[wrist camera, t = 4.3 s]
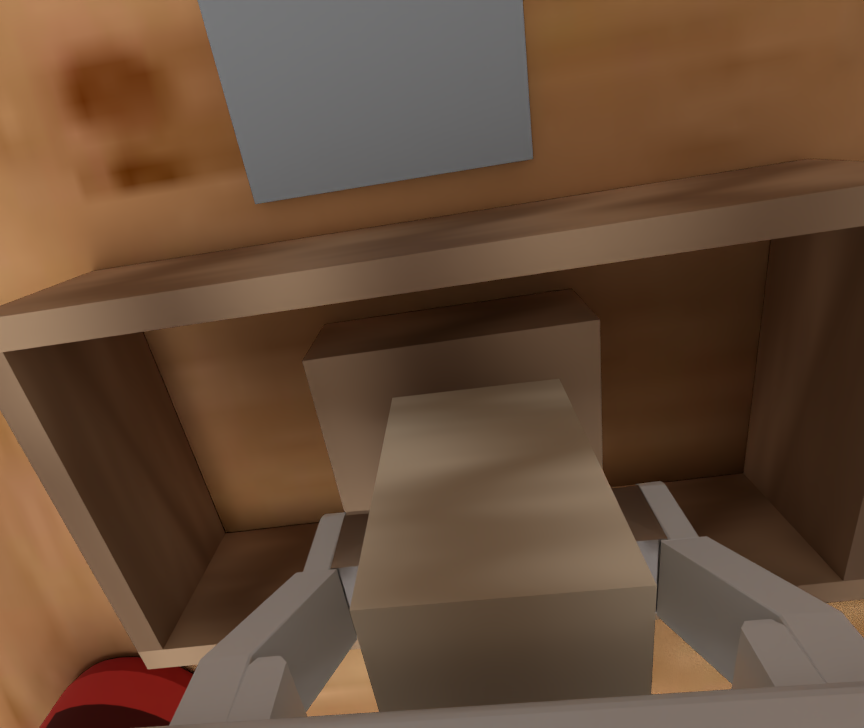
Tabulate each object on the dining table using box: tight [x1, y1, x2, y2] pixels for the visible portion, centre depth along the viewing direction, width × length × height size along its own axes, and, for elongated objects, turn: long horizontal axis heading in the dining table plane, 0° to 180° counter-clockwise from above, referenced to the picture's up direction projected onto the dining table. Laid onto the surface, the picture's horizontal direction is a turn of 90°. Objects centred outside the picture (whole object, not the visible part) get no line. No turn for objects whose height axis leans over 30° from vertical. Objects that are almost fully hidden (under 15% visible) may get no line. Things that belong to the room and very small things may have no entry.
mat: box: [198, 0, 533, 204], centre depth 13 cm, size 8×8×1 cm
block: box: [349, 379, 657, 712], centre depth 10 cm, size 4×4×6 cm
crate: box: [0, 159, 864, 669], centre depth 15 cm, size 22×12×5 cm, turn 99°
